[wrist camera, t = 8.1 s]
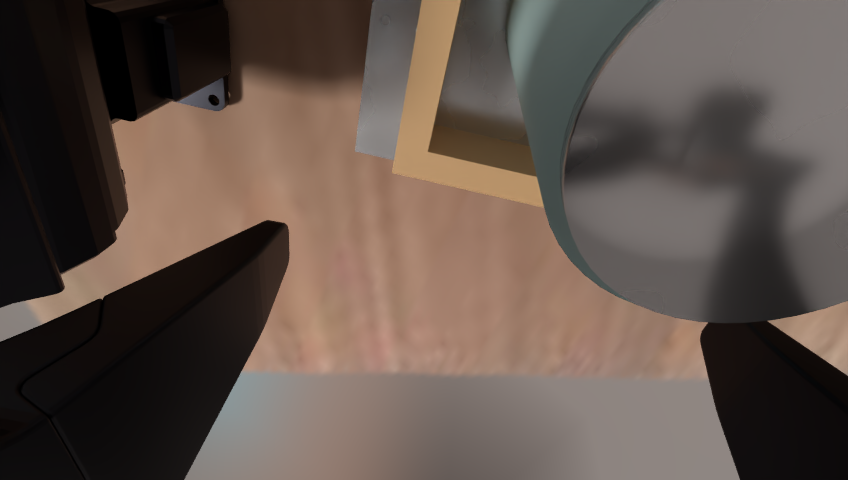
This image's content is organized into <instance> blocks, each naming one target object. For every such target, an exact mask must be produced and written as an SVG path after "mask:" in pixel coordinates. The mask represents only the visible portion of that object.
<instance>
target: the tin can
mask: <svg viewBox="0 0 848 480" xmlns="http://www.w3.org/2000/svg"><path fill="white" fill-rule="evenodd" d="M506 42H507V49H508V54H509V58H510V63H511V67H512V71H513V76H514V80H515V84H516V89H517V93H518V97H519V102H520V106H521V110H522V114H523V119H524V123H525V127H526V132H527V136H528V140H529V145H530V149H531V153H532V158H533V162H534V166H535V171H536V175H537V179H538V183H539V188H540V192H541V196H542V201H543V205H544V208H545V212H546V215H547V218H548V222H549V225H550V227H551V229H552V231H553V233H554V235H555V237H556V239H557V241H558V243H559V245H560V246H561V248H562V249H563V251H564V252H565V254H566V255H567V256H568V258H569V259H570V261H571V262H572V263H573V264H574V265H575V266H576V267H577V268H578V269H579V270H580V271H581V272H582V273H583V274H584V275H585V276H587V277H588V278H589V279H591V280H592V281H593V282H594V283H596V284H597V285H598V286H600V287H601V288H603V289H605V290H607V291H608V292H610V293H612V294H614V295H615V296H617V297H619V298H622V299H624V300H627V301H629V302H632V303H634V304H636V305H639V306H642V307H644V308H647V309H649V310H652V311H654V312H657V313H661V314H664V315H668V316H671V317H675V318H680V319H686V320H692V321H698V322H712V323H748V322H758V321H768V320H775V319H780V318H786V317H792V316H797V315H801V314H805V313H809V312H813V311H817V310H821V309H824V308H827V307H830V306H833V305H836V304H839V303H842V302H845V301H848V0H510V4H509V8H508V13H507V21H506Z"/></svg>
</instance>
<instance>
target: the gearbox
mask: <svg viewBox="0 0 848 480" xmlns="http://www.w3.org/2000/svg"><path fill="white" fill-rule="evenodd" d="M509 4H510V0H372V9H371V17H370V26H369V35H368V44H367V52H366V61H365V70H364V78H363V87H362V96H361V104H360V113H359V122H358V130H357V139H356V148H355V151H356V152H360V153H365V154H369V155H374V156H378V157H382V158H387V159H391V160H394V164H393V169H392V173H395V174H399V175H404V176H408V177H412V178H417V179H421V180H425V181H430V182H434V183H439V184H443V185H447V186H452V187H456V188H460V189H465V190H469V191H473V192H478V193H482V194H487V195H491V196H495V197H500V198H504V199H508V200H513V201H517V202H522V203H526V204H530V205H535V206H539V207H543V208H544V205H543V201H542V196H541V192H540V188H539V183H538V179H537V175H536V171H535V166H534V162H533V158H532V153H531V149H530V145H529V140H528V136H527V132H526V127H525V123H524V119H523V114H522V110H521V106H520V102H519V97H518V93H517V89H516V84H515V80H514V76H513V71H512V67H511V63H510V58H509V54H508V49H507V42H506V21H507V13H508V8H509Z"/></svg>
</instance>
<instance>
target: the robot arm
mask: <svg viewBox="0 0 848 480" xmlns="http://www.w3.org/2000/svg"><path fill="white" fill-rule="evenodd" d="M230 71H231V62H230V43H229V25H228V11H227V10H226V8H225V7H224V5H223V0H0V308H1V307H4V306H7V305H9V304H12V303H17V302H21V301H26V300H31V299H35V298H40V297H44V296H49V295H54V294H57V293H60V292H62V291H63V290H64V288H65V286H64V283H63V280H62V278H61V274H63V273H65V272H67V271H69V270H71V269H73V268H75V267H77V266H79V265H81V264H83V263H85V262H87V261H89V260H91V259H93V258H95V257H96V256H97V255H99V254H100V253H101V252H103V251H104V250H105V249H106V248H108V247H109V246H110V245H112V244H113V243H114V242H115V241H116V239H117V237H116V233H115V231H116V229H117V228H118V227H119V226H120V224H121V222H122V220H123V219H124V217H125V215H126V213H127V211H128V202H127V194H126V189H125V183H126V182H125V178H124V173H123V170H122V169H121V166H120V161H119V157H118V152H117V148H116V143H115V139H114V134H113V129H112V125H111V124H113V123H115V122H117V121H119V120H121V119H122V120H126V121H136V120H137V119H139V118H141V117H143V116H145V115H147V114H149V113H151V112H152V111H154V110H156V109H158V108H160V107H162V106H164V105H165V104H167V103H169V102H171V101H174V102H178V103H182V104H187V105H191V106H195V107H200V108H204V109H208V110H213V111H220V110H222V109H224V108H225V107H226V106H227V105H228V102H229V94H228V78H227V74H228V73H229V72H230ZM213 95H215V96H217V97H218V99H219V103H217V102H215V100H214V99H213ZM288 263H289V229H288V226H287V225H286V224H285V223H281V222H276V221H271V220H266V221H264V222H261V223H259V224H257V225H255V226H253V227H251V228H249V229H247V230H244V231H242V232H240V233H238V234H236V235H234V236H232V237H229V238H227V239H225V240H223V241H221V242H219V243H217V244H215V245H212V246H210V247H208V248H206V249H204V250H202V251H200V252H198V253H195V254H193V255H191V256H189V257H187V258H185V259H183V260H181V261H178V262H176V263H174V264H172V265H170V266H168V267H166V268H163V269H161V270H159V271H157V272H155V273H153V274H151V275H149V276H146V277H144V278H142V279H140V280H138V281H136V282H134V283H131V284H129V285H127V286H125V287H123V288H121V289H119V290H117V291H114V292H112V293H110V294H108V295H106V296H104V298H103V300H102V299H97V300H95V301H93V302H91V303H89V304H86V305H84V306H82V307H80V308H78V309H76V310H74V311H71V312H69V313H67V314H65V315H62V316H60V317H58V318H56V319H53V320H51V321H49V322H47V323H45V324H42V325H40V326H38V327H35V328H33V329H30V330H28V331H26V332H23V333H21V334H18V335H16V336H13V337H11V338H9V339H6V340H4V341H1V342H0V480H184V479H185V477H186V475H187V473H188V471H189V469H190V468H191V466H192V464H193V462H194V460H195V458H196V456H197V454H198V452H199V451H200V449H201V447H202V445H203V443H204V441H205V439H206V437H207V436H208V434H209V432H210V430H211V428H212V426H213V424H214V422H215V420H216V418H217V417H218V415H219V413H220V411H221V409H222V407H223V405H224V403H225V401H226V399H227V398H228V396H229V394H230V392H231V390H232V388H233V386H234V384H235V383H236V381H237V379H238V377H239V375H240V373H241V371H242V369H243V367H244V366H245V364H246V362H247V360H248V358H249V356H250V354H251V352H252V350H253V349H254V347H255V345H256V343H257V341H258V339H259V337H260V335H261V333H262V331H263V329H264V327H265V324H266V322H267V319H268V317H269V314H270V311H271V309H272V306H273V303H274V301H275V298H276V296H277V293H278V290H279V288H280V285H281V282H282V280H283V277H284V275H285V272H286V269H287V266H288ZM700 343H701V347H702V352H703V356H704V360H705V365H706V369H707V373H708V378H709V382H710V386H711V390H712V395H713V399H714V403H715V407H716V410H717V413H718V417H719V420H720V423H721V426H722V429H723V432H724V435H725V437H726V440H727V443H728V446H729V449H730V451H731V455H732V457H733V460H734V463H735V466H736V469H737V472H738V475H739V478H740V480H848V376H847V375H846V374H844V373H843V372H841V371H840V370H838V369H837V368H835V367H834V366H832V365H831V364H829V363H828V362H827V361H825V360H824V359H822V358H821V357H819V356H818V355H816V354H815V353H813V352H812V351H810V350H809V349H807V348H806V347H804V346H803V345H802V344H800V343H799V342H797V341H796V340H794V339H793V338H791V337H790V336H788V335H787V334H785V333H784V332H782V331H781V330H780V329H778V328H777V327H775V326H774V325H772V324H771V323H769V322H768V321H758V322H748V323H712V322H708V324H707V325H706V326H705V328H704V329H703V331H702V333H701V337H700Z"/></svg>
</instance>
